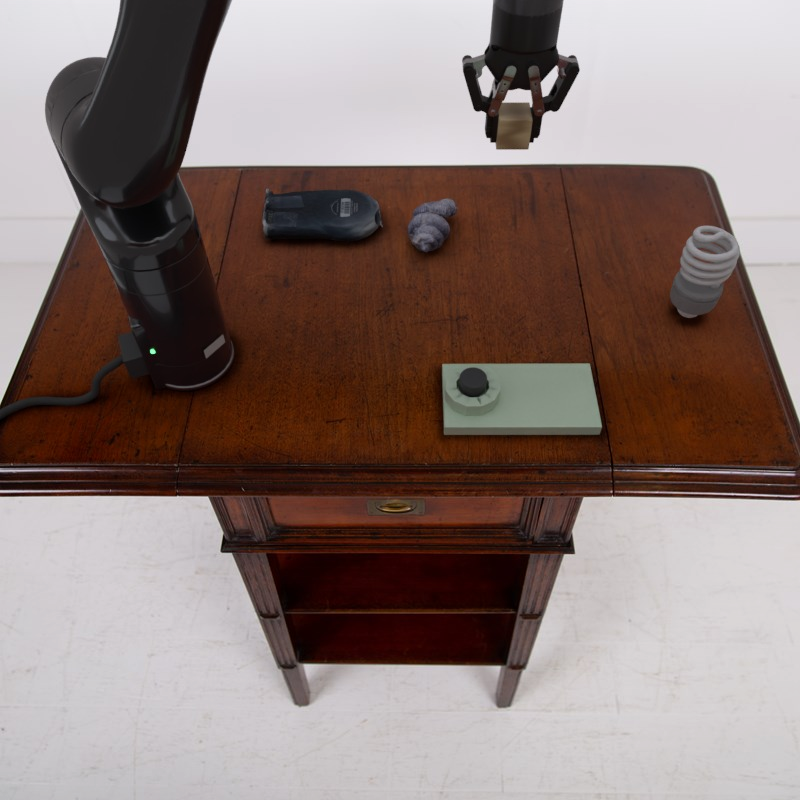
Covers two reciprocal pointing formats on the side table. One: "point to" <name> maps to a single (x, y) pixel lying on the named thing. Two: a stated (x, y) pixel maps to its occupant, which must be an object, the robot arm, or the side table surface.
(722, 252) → the light bulb
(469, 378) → the button
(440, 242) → the seashell
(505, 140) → the block
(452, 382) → the pale green flat block
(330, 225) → the electronic device
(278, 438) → the side table surface
